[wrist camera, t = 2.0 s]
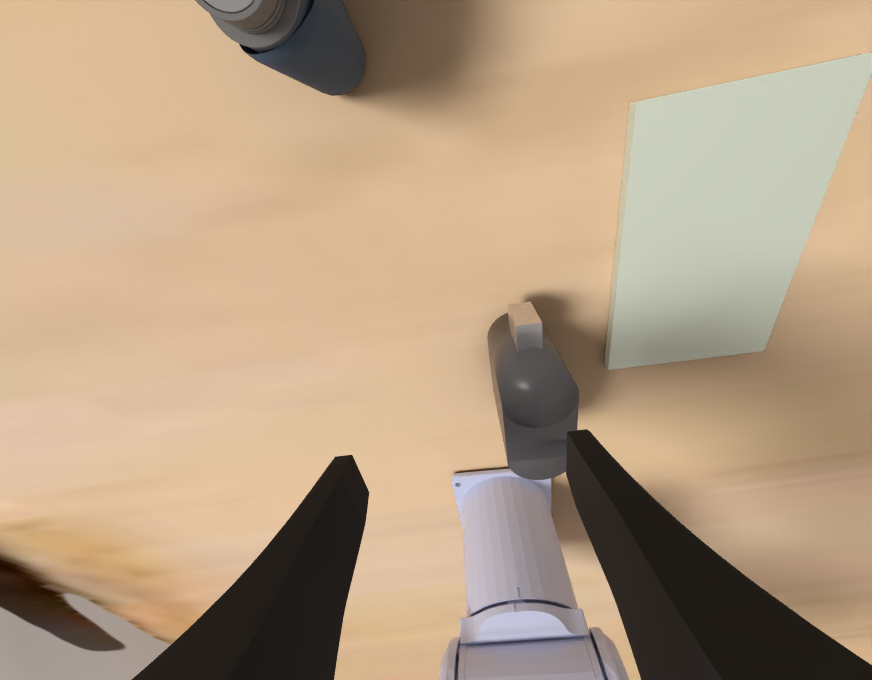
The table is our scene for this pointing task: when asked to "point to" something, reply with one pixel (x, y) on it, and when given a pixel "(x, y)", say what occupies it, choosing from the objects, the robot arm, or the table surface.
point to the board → (722, 209)
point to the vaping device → (296, 39)
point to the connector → (531, 394)
